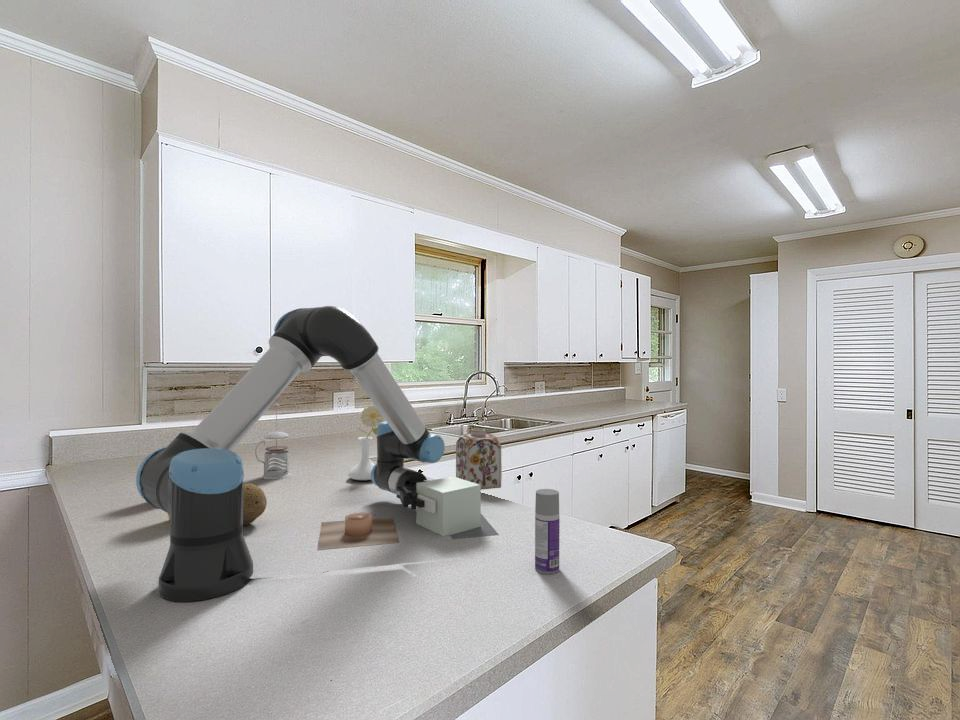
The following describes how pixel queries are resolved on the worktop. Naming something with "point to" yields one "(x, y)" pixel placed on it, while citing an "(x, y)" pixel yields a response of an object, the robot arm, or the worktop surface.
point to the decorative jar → (479, 459)
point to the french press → (275, 456)
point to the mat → (477, 531)
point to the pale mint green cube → (450, 505)
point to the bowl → (358, 524)
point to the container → (547, 531)
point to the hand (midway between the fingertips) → (457, 501)
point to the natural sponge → (252, 503)
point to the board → (336, 537)
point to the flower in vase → (366, 444)
